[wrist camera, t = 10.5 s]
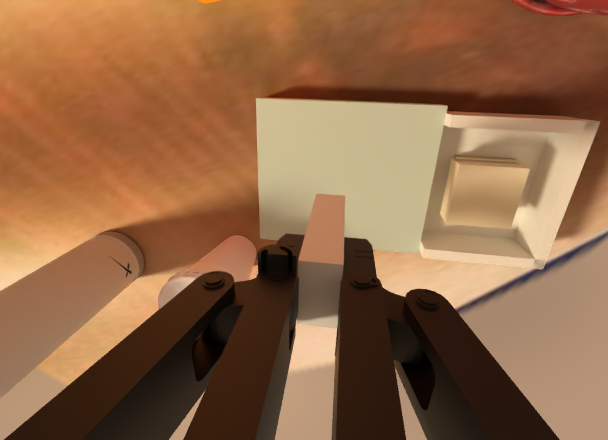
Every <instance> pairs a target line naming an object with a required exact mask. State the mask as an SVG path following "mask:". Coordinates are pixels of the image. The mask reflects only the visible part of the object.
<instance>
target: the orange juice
mask: <svg viewBox="0 0 608 440" xmlns="http://www.w3.org/2000/svg"><path fill="white" fill-rule="evenodd" d="M199 1H201V2H202V3H204V4H205V3H210V2H215V1H219V0H199Z"/></svg>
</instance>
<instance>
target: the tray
mask: <svg viewBox="0 0 608 440" xmlns="http://www.w3.org/2000/svg"><path fill="white" fill-rule="evenodd" d="M600 122H601V121H595V120H588V119H581V118H574V117H567V116H553V115H529V114H504V113H480V112H456V111H447V112H446V117H445V122H444V127H443V132H442V137H441V142H440V147H439V152H438V157H437V162H436V167H435V172H434V177H433V182H432V187H431V192H430V197H429V202H428V207H427V212H426V217H425V222H424V227H423V232H422V237H421V242H420V247H419V250H420V252H421V255H422V257H423V258H432V259H442V260H452V261H462V262H473V263H483V264H493V265H503V266H514V267H524V268H534V269H543V268H544V265H545V263H546V260H547V258H548V255H549V252H550V250H551V247H552V245H553V242H554V240H555V237H556V235H557V232H558V229H559V227H560V224H561V222H562V219H563V217H564V214H565V211H566V209H567V206H568V204H569V201H570V199H571V196H572V193H573V191H574V188H575V186H576V183H577V181H578V178H579V176H580V173H581V170H582V168H583V165H584V163H585V160H586V158H587V155H588V152H589V150H590V147H591V145H592V142H593V140H594V137H595V134H596V132H597V129H598V127H599V124H600ZM455 155H467V156H483V157H500V158H515V159H517V160H519V161H521V162H524V163H526V164H527V166H526V167H528V168H530V171H529V174H528V177H527V180H526V183H525V186H524V189H523V192H522V195H521V198H520V202H519V205H518V208H517V211H516V214H515V217H514V220H513V223H512V226H511V229H503V228H491V227H480V226H468V225H456V224H446V222H445V221H444V219H443V218H442V216H441V215H440V210H441V206H442V201H443V197H444V192H445V187H446V183H447V178H448V174H449V169H450V165H451V160H452V158H454V156H455Z"/></svg>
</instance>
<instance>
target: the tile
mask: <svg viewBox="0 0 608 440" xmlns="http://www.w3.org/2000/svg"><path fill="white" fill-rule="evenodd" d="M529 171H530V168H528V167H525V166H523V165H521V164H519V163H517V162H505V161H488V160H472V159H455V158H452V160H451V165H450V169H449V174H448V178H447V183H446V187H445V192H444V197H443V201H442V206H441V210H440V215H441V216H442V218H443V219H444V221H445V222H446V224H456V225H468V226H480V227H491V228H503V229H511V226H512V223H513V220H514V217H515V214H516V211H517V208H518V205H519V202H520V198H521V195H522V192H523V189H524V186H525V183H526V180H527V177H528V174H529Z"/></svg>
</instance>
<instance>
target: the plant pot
mask: <svg viewBox="0 0 608 440" xmlns="http://www.w3.org/2000/svg"><path fill="white" fill-rule="evenodd" d="M512 1H513V2H515V3H516V4H517V5H519V6H521V7H523V8H525V9H527V10H529V11H532V12H535V13H539V14H544V15H550V16H568V15H576V14H582V13H588V14H598V15H608V0H512Z"/></svg>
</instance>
